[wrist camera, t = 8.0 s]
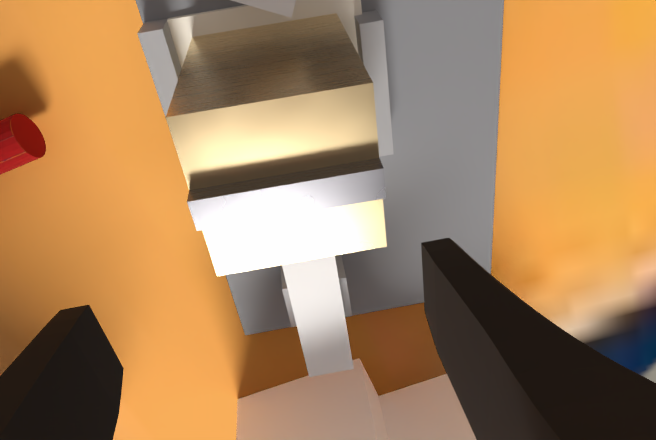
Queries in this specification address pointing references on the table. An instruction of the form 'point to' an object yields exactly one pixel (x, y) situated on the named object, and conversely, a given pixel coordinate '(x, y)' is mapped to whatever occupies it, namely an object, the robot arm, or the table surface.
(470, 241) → the shaft stand
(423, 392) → the corner bracket
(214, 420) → the table surface
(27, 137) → the mechanical clamp
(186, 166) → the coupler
